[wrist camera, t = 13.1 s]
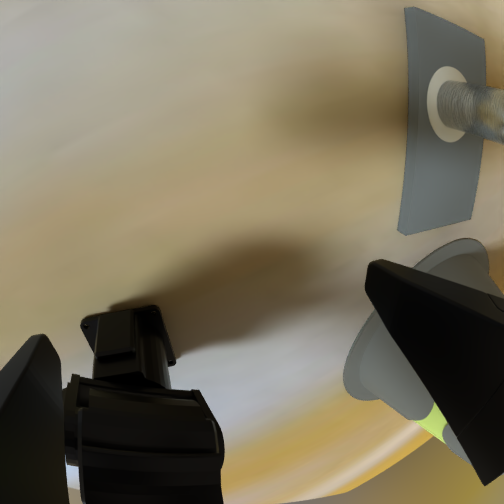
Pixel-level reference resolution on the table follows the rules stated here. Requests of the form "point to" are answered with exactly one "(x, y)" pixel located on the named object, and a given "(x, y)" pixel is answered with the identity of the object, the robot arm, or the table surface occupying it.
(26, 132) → the table surface
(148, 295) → the table surface
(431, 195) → the mat
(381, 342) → the grey tapered cylinder
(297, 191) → the table surface
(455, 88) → the metal pin
